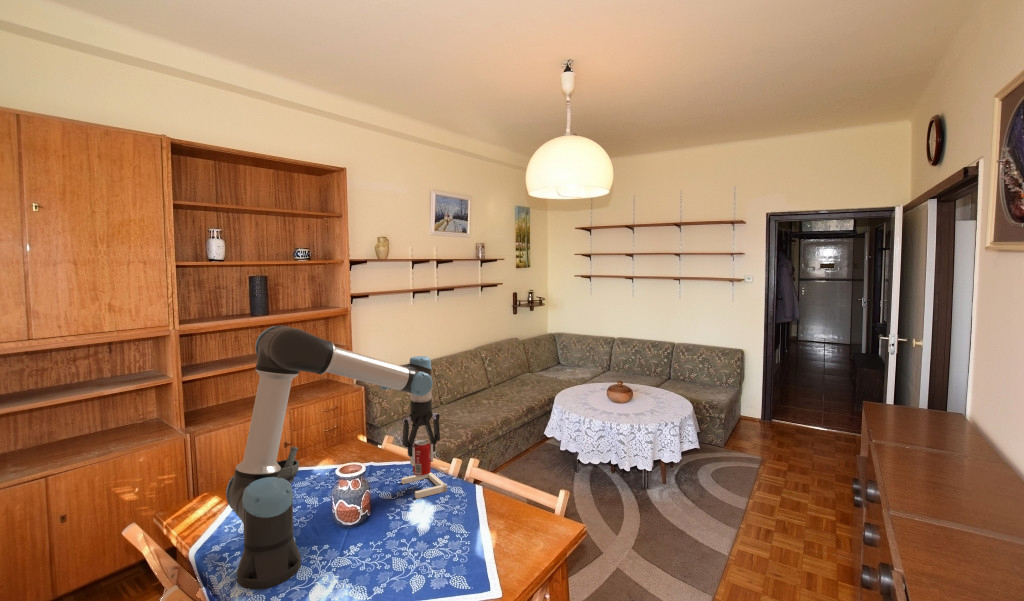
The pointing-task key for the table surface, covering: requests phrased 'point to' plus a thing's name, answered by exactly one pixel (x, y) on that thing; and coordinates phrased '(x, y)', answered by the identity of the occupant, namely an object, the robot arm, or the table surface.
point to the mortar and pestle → (289, 466)
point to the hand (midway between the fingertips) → (421, 462)
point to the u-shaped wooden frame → (429, 491)
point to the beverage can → (422, 458)
